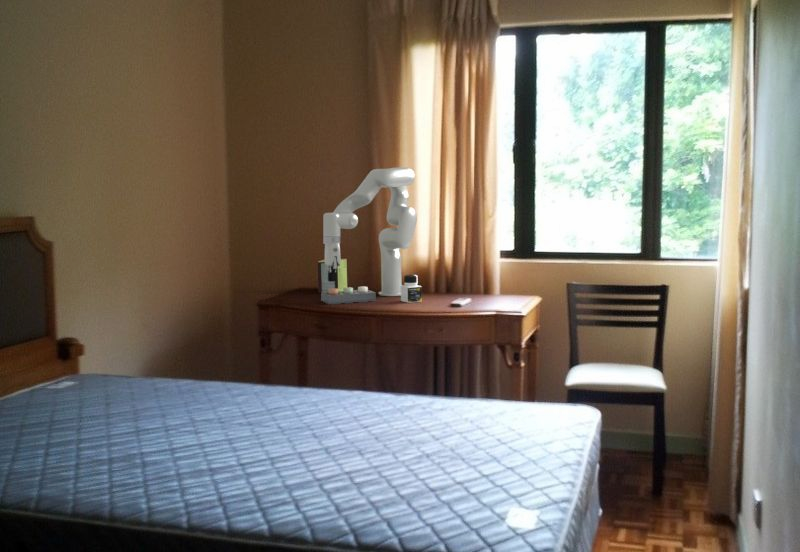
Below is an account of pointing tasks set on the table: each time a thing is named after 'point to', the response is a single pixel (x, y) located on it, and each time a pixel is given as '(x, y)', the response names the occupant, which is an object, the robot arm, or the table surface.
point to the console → (348, 297)
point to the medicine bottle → (411, 289)
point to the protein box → (340, 277)
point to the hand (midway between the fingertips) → (331, 281)
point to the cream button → (363, 289)
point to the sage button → (348, 290)
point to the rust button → (333, 291)
